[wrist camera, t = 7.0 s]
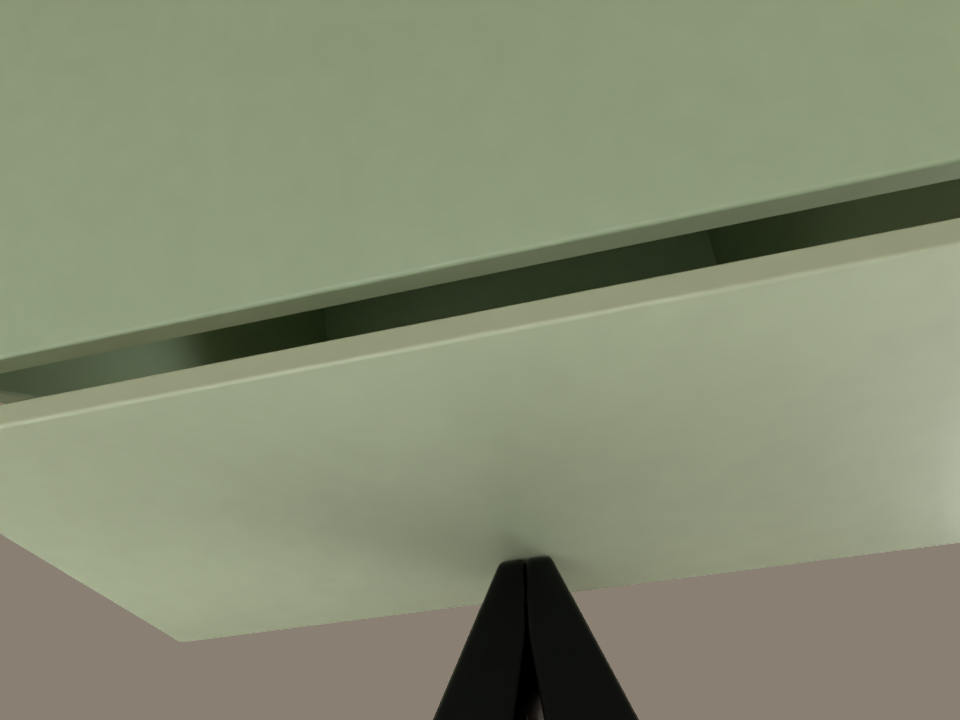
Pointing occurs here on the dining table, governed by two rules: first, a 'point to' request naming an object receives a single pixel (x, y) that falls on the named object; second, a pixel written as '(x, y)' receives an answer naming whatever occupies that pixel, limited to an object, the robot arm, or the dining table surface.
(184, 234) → the carton
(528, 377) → the flap
